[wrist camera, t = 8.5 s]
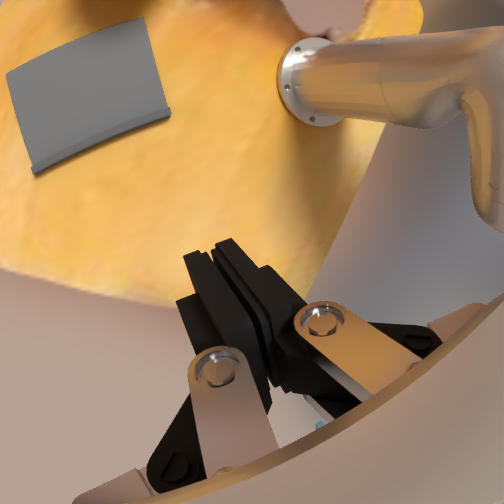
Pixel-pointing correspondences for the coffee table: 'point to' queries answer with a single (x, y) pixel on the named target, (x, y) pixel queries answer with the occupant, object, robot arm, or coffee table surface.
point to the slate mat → (87, 93)
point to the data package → (319, 425)
